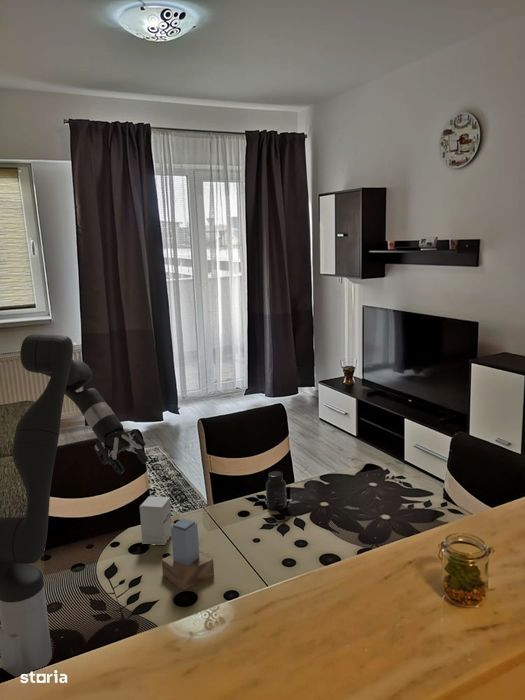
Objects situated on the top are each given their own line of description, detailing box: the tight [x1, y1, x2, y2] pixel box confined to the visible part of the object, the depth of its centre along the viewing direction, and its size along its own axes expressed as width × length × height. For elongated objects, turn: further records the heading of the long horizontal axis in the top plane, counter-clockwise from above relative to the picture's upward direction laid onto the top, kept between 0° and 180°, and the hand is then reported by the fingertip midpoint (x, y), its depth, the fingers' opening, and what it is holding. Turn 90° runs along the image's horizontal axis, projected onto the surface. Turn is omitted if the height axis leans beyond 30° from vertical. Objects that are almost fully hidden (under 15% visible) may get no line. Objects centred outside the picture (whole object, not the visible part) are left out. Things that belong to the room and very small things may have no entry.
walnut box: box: [161, 550, 215, 591], centre depth 154 cm, size 10×10×5 cm
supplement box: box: [139, 495, 173, 545], centre depth 172 cm, size 7×7×13 cm
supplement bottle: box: [265, 470, 288, 512], centre depth 192 cm, size 7×7×12 cm
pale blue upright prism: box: [171, 517, 200, 566], centre depth 152 cm, size 5×5×11 cm
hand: (134, 467), depth 155 cm, fingers open, 8 cm apart
